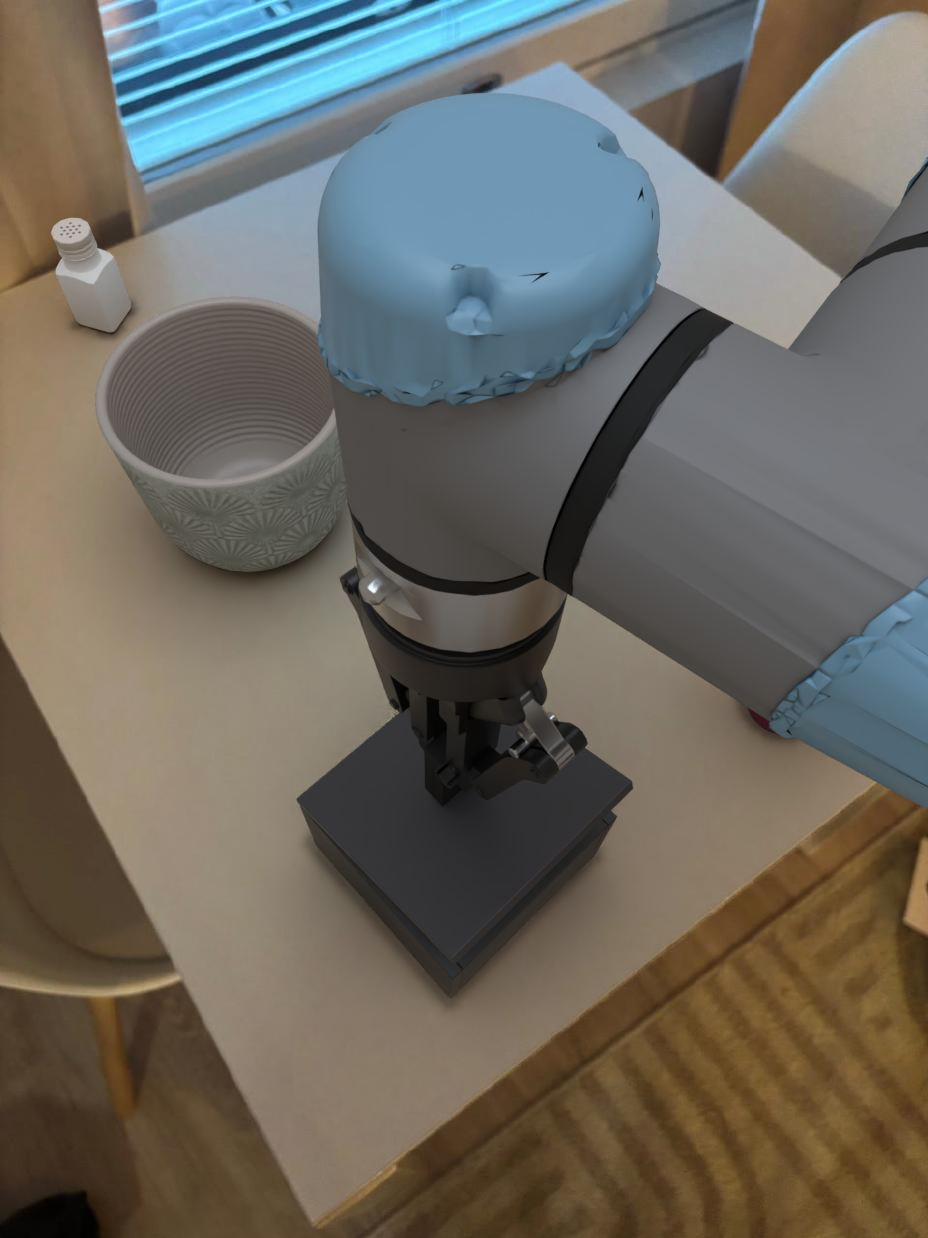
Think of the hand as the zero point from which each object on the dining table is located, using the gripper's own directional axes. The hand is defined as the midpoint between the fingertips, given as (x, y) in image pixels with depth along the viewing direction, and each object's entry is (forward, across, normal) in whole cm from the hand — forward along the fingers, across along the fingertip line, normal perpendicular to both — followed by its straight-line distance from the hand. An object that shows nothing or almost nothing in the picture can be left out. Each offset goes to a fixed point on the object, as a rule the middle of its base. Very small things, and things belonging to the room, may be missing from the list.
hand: (451, 781), depth 54 cm
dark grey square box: (+13, +1, 0) cm, 13 cm away
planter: (+13, -30, +7) cm, 34 cm away
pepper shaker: (+13, -57, +10) cm, 59 cm away
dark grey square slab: (+1, +1, 0) cm, 1 cm away
